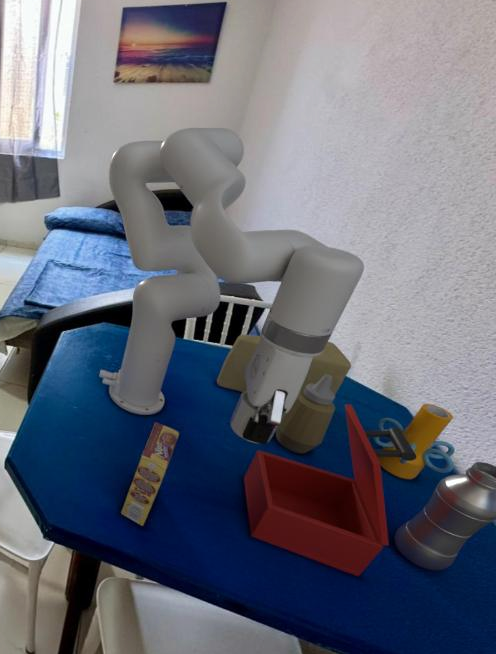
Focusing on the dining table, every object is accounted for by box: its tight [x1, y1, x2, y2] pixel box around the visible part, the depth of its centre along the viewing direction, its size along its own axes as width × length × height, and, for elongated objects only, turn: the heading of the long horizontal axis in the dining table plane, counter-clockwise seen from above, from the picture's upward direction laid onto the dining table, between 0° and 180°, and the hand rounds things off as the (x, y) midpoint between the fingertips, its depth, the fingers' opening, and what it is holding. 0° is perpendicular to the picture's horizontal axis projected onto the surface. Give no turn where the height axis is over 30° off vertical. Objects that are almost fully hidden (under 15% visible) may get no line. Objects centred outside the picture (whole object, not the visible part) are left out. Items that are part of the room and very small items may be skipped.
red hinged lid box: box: [243, 449, 384, 577], centre depth 69 cm, size 15×13×8 cm
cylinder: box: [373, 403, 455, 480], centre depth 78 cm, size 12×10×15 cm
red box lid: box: [344, 404, 416, 547], centre depth 61 cm, size 15×13×5 cm
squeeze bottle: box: [275, 374, 336, 454], centre depth 82 cm, size 8×8×18 cm
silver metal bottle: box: [393, 461, 496, 571], centre depth 61 cm, size 6×7×20 cm
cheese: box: [216, 334, 352, 396], centre depth 97 cm, size 22×10×15 cm, turn 75°
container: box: [229, 390, 284, 444], centre depth 65 cm, size 6×6×6 cm
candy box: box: [120, 422, 180, 527], centre depth 69 cm, size 9×4×15 cm, turn 145°
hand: (252, 425), depth 66 cm, fingers closed on container, 5 cm apart
